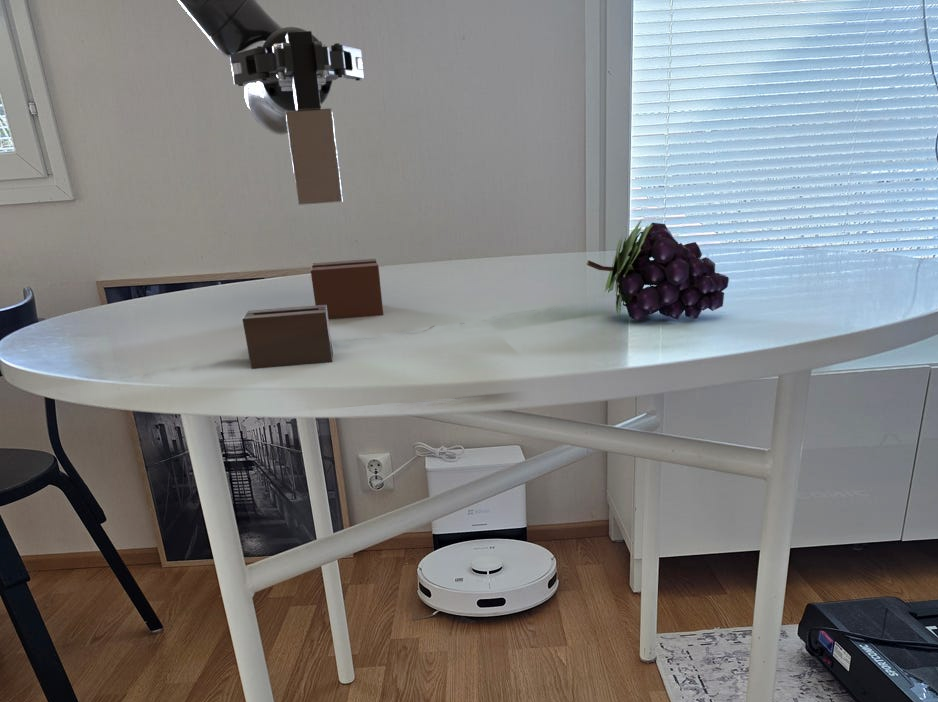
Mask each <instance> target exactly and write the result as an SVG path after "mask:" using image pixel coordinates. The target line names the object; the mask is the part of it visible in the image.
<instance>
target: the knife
mask: <svg viewBox="0 0 938 702" xmlns="http://www.w3.org/2000/svg"><path fill="white" fill-rule="evenodd" d="M312 35H313V33H312V30H306V31H298V32H287V35H286V42H290V45H291V52H292V59H293V67H294V72H293V73H292V75H291V78H292V86H293V93H294V100H295V107H296V110H295V111H285V113H286V120H287V127H288V134H287V135H288V141H289V147H290V148H289V149H290V153H291V154H290V155H291V161H292V168H293V174H294V181H295V189H296V197H297V202H298V205H299V206H301V205H316V204H330V203H343V202H344V200H343V199H344V198H343V193H342V192H343V190H342V184H341V183H342V182H341V175H340V167H339V160H338V150H337V143H336V142H337V141H336V135H335V134H336V133H335V125H334V117H333V110H332V108H322V104H321V103H320V95H319V87H318V79H317V72H316V65H315V57H314V49H313V39H312Z"/></svg>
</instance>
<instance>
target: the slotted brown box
mask: <svg viewBox="0 0 938 702" xmlns="http://www.w3.org/2000/svg"><path fill="white" fill-rule="evenodd" d="M310 276H311V277H310V278H311V284H312V291H313V299H314V305H327V312H328V319H329V321H330V320H342V319H353V318H355V319H356V318H367V317H379V316H385V315H384V313H385V312H384V306H383V305H384V304H383V294H382V284H381V275H380V267H379V264H378V261H377V259H376V258H367V259H353V260H338V261H326V262H313V263H312V265H311V269H310Z"/></svg>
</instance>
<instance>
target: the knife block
mask: <svg viewBox="0 0 938 702" xmlns="http://www.w3.org/2000/svg"><path fill="white" fill-rule="evenodd" d="M242 325H243V330H244V336H245V341H246V348H247V352H248V358H249V363H250V368H251V370H259V369H269V368H270V369H271V368H280V367H282V368H283V367H291V366H304V365H305V366H306V365H316V364H317V365H318V364H329V363H333V360H334V359H333V356H334V349H333V343H332V336H331V335H332V334H331V327H330V320H329V319H328V312H327V305H315V304H314V305H303V306H292V307H291V306H290V307H279V308H278V307H277V308H263V309H252V310H251V309H250V310H247V312H246V313H245V315H244V316H243V317H242Z"/></svg>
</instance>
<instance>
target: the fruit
mask: <svg viewBox="0 0 938 702" xmlns="http://www.w3.org/2000/svg"><path fill="white" fill-rule="evenodd" d="M642 221H643V218H642V219H640V220H639V221H638V223H637V225H636V226H635V227H634V229H633V230H631V232H630V234H629V236H628V237H627V236H625V238H624V241H623V237H624V233H625V232H624V231H625V230H626V229H625V228H624V229H623V232H622V235H621V238H620V239H619V240H618V242H617V246H616V250H615V254H614V258H613V261H612V265H611V266H606V265H605V266H604V265H602V264H599V263H596V262H594V261H591V260H589V259H588V260H587V262H586V266H589V267H591V268H593V269H596V270H598V271H605V272H609V273H608V277H607V280H606V282H605V283H606V284H605V289H604V292H606V291H607V290H608V291H607V292H608V293H610V292H611V291H613V290H614V288H615V312H616V313H617V315H618V313H619V315H621V310H622V309H621V308H622V306H624V307H625V308H626V312H627V315H628V317H629V318H631V319H633V320H635V321H638V322H639V321H642V320H643V319H644V318H646V317H648V316H651V315H653V314H655V313H657V312H658V313H659V314H660V315H662V316H664V317H670V318H672V319H674V320H678V319H679V318H680V317H681V316H682V314H683V313H684V316H685V317H686V318H690V319H698V317H699V316H700V315H701V313H702V311H705V310H707V309H709V310H710V311H711V312H714V311H716V310H718V309H720V308H723V306H724V301H725V300H724V299H725V292H724V291H725V290H726V289H727V288H728V287H729V282H730V278H729V276H727V275H726V274H723V273H720V272H716V262H714V261H713V260H711V259H710V258H709V257H707V256H705V257H702V256H703V253H702V251H701V248H700V246H699V244H698V243H697V242H696V241H693V242H688V243H685V244H683V243H682V242H680V243H679V242H678V240H676V239H675V238H674V236H673V234H672V232H671V231H670V230H669V229H668V227H667V225H666V223H660V222H651V223H650V224H648V225H646V227H645V228H644V229H643V231H641V230H642V228H643V227H642V226H640V225H641V223H642ZM701 257H702V258H701ZM651 258H652V259H651ZM615 285H616V286H615ZM645 286H646V287H645Z"/></svg>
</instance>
